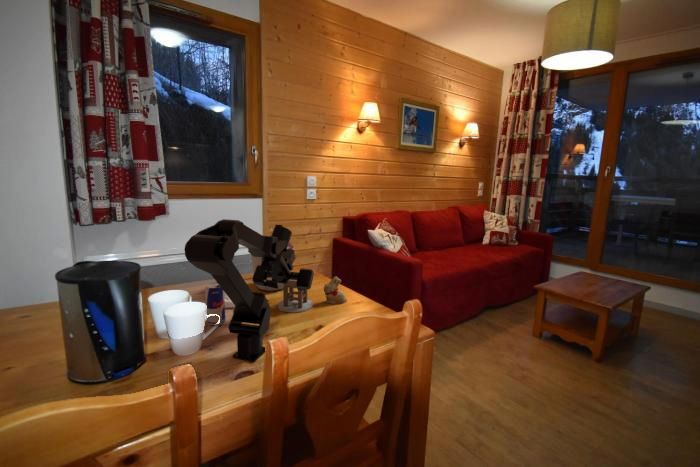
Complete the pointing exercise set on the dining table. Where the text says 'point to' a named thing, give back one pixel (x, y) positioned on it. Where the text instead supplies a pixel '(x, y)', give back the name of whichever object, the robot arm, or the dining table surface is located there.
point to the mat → (295, 306)
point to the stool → (290, 296)
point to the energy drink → (215, 303)
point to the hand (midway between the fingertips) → (290, 288)
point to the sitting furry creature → (228, 301)
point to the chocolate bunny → (334, 292)
